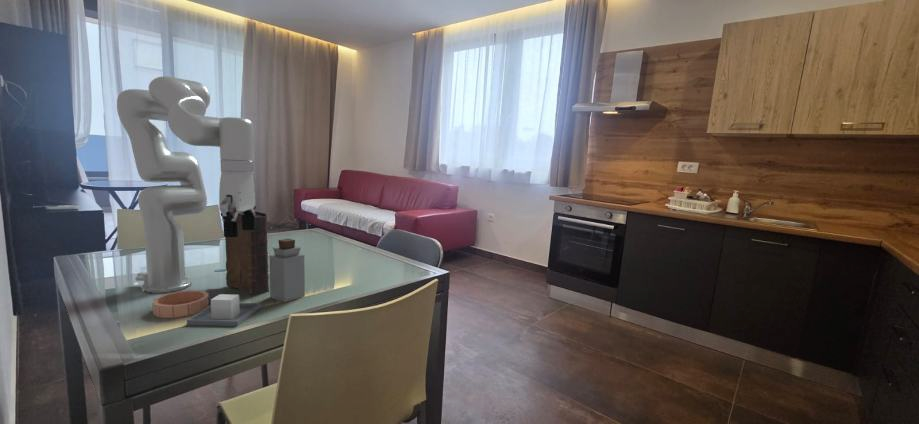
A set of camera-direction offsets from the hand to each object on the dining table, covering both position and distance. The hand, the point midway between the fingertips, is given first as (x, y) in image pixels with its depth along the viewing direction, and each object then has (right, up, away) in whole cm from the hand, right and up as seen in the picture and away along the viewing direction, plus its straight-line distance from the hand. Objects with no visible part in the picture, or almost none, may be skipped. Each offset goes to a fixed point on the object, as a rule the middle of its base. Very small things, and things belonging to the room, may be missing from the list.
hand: (240, 233), depth 103 cm
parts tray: (-3, -22, -1) cm, 22 cm away
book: (-9, -19, +21) cm, 30 cm away
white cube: (-3, -21, -1) cm, 22 cm away
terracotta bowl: (-17, -21, +3) cm, 27 cm away
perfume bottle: (+6, -21, +15) cm, 26 cm away
